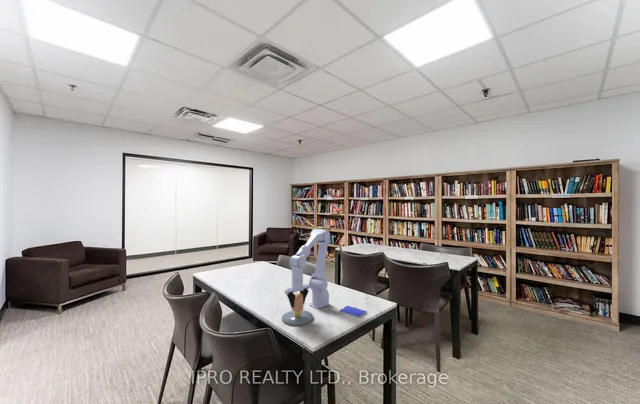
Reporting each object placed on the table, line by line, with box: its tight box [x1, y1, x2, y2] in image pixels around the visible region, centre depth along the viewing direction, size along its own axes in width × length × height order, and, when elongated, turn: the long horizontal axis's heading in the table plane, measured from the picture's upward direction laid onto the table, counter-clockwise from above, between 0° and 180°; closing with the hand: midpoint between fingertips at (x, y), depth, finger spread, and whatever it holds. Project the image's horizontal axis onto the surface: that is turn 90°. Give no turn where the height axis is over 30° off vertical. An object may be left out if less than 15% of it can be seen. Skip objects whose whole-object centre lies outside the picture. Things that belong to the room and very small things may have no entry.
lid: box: [281, 309, 314, 327], centre depth 132 cm, size 16×16×1 cm
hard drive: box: [339, 305, 368, 319], centre depth 140 cm, size 2×8×12 cm
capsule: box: [295, 311, 301, 318], centre depth 132 cm, size 3×3×5 cm
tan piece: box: [291, 292, 304, 311], centre depth 133 cm, size 6×6×7 cm
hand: (297, 305), depth 132 cm, fingers closed on tan piece, 6 cm apart
